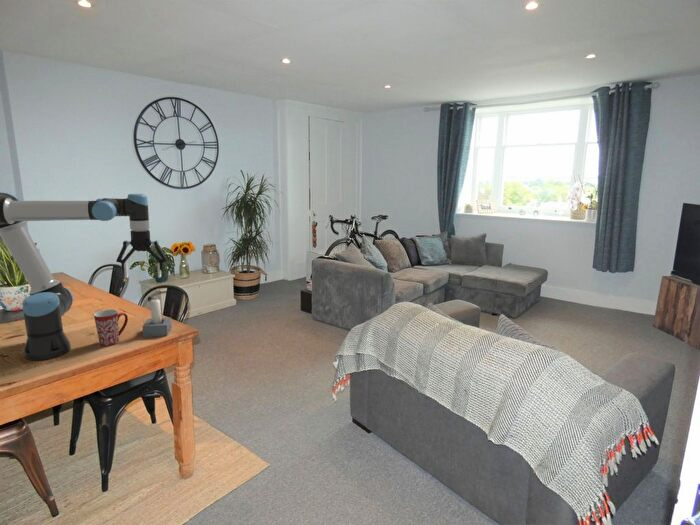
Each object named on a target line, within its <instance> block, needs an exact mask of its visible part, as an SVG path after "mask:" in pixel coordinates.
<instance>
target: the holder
mask: <svg viewBox="0 0 700 525" xmlns="http://www.w3.org/2000/svg"><path fill="white" fill-rule="evenodd" d="M161 319H162V324H152V318H147V319H146V320H145V322H144V323H143V325H142V327H141V328H142V336H143V338H150V337H151V338H152V337H153V336H154V337H166V336H165V335H168V336H169V334H170V332H171V330H172V328H173V327H172V325H173V324H172V317H161ZM154 337H153V338H154Z"/></svg>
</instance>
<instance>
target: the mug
mask: <svg viewBox="0 0 700 525" xmlns="http://www.w3.org/2000/svg"><path fill="white" fill-rule="evenodd" d="M92 316H93V317H94V322H95V327H96V333H97V337H98V338H97V339H98V342H99V345H100V346H102V347H108V346H113V345H116V344H118V343H119V342H120V336H121V335H122V333H123V332H124V330H125V328H126V327H127V325H128V321H129V316H128V315H127V314H126V313H124V312H119V310H117V309H102V310H98V311H96V312H94V313H93V315H92ZM122 316H123V317H124V322H123V324H122V327H121V328H120V329H119V321H120V318H121V317H122Z"/></svg>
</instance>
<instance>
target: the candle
mask: <svg viewBox="0 0 700 525" xmlns="http://www.w3.org/2000/svg"><path fill="white" fill-rule="evenodd" d="M149 303H150V315H151V316H150V317H151V319H152V324H162V319H161V318H162V311H161V308H162V307H161V299H159V298H157V299H156V298H154V299H151V300H150V301H149Z"/></svg>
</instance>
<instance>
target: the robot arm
mask: <svg viewBox="0 0 700 525" xmlns="http://www.w3.org/2000/svg"><path fill="white" fill-rule="evenodd" d="M149 214H150V213H149V202H148V196H147V195H146V194H144V193H129V194H128V195H127V198H113V197H112V198H111V197H109V198H107V197H103V198H97V199H96V200H20V199H19V198H18V197H17V196H16V195H13V194H10V193H7V192H1V191H0V237H1V238H2V240H3V242H4V244H5V245H6V247H7V249H8V251H9V252H10V254H11V255H12V257H13V259H14V261H15V262H16V265H17V266H18V267H19V269H20V271H21V273H22V275H23V277H24V278H25V280H26V281H27V283H28V285H29V286H30V291H29V295H28V296H27V297H26V298H24V299H23V300H22V307H21V308H22V309H21V310H22V312H23V319H24V324H25V325H24V326H25V330H26V336H27V337H26V342H25V346H24V350H23V354H24V358H25V359H26V360H28V361H43V360H49V359H54V358H57V357H59V356H62V355H65V354H67V353H69V351H70V350H71V349H72V347H71V342H70V340H69V339H68V336H67V335H66V333H65V332H64V328H63V321H62V317H63V316H64V315H65V314H66V313H67V312H68V311H69V310H70V309H71V308H72V306H73V301H74V295H73V294H72V291H71V290H70V289H68V288H67V287H64V285H63V283H62V281H61V280H58V279H55V278H54V275H53V274H52V272H51V270H50V268H49V267H48V265H47V263H46V261H45V260H44V258H43V256H42V254H41V253H40V251H39V248H38V247H37V245H36V244H35V242H34V240H33V238H32V237H31V235H30V232H28V230H27V228H26V225H27V222H35V221H36V222H39V221H42V222H44V221H46V222H47V221H48V222H49V221H101V222H105V221H106V222H108V221H111V220H112V219H114V218H115V217H128V218H129V229H130V240H127V239H126V240H124V241H123V242H122V247H121V250H120V252H119V254H118V256H117V259H115V260H116V262H117V263H120V264H121V271H123V272H124V279H128V278H129V277H130V275H129V262H127V260H129V258H130V257H131V256H132V255H133V254H134V252H135V251H136V252H147V253H148V254H150V255H151V256H152V257H153V258H154V259H155V260H156V261H157V263H156V264H157V277H158V278H159V279H160V278H161V277H162V271H163V270H164V263H166V262H167V261H168V257H167V256H166V255H165V253H164V251H163V250H162V248H161V247H160V243H159V240H154V241H152V240H151V231H150V230H149V229H150V219H149V218H150V217H149V216H150V215H149ZM151 245H152V246H153V247H154V248H155V250H156V252H155V250H153V248H152V247H151ZM129 246H131V247H132V248H131V249H130V250H129V252H128V253H127V254H126V255H125V252H126V250H127V248H128V247H129ZM157 252H158V254H157ZM124 255H125V256H124ZM123 257H124V258H123ZM158 278H157V279H158Z"/></svg>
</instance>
